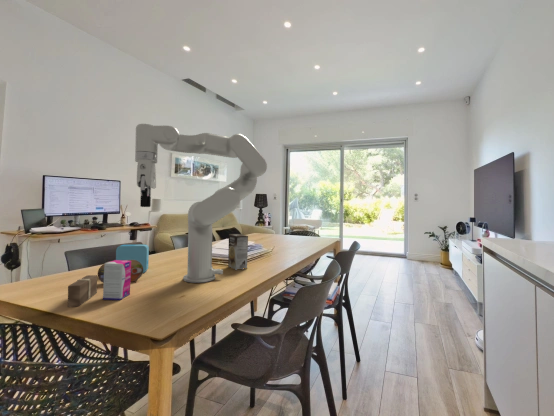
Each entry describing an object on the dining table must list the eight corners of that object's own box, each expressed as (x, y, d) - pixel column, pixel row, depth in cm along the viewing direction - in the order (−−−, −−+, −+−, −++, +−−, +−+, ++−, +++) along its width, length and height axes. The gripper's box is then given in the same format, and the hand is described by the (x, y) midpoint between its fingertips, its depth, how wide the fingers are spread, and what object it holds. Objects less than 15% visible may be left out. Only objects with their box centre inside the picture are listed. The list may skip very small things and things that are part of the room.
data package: (148, 270, 122) (148, 244, 122) (146, 273, 118) (146, 245, 118) (118, 271, 119) (119, 244, 119) (115, 274, 115) (116, 246, 115)
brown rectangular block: (97, 293, 91) (97, 274, 91) (80, 306, 79) (80, 284, 79) (86, 293, 90) (86, 274, 90) (67, 306, 78) (67, 285, 78)
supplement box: (121, 300, 84) (122, 263, 84) (102, 300, 84) (102, 263, 84) (131, 294, 90) (131, 260, 90) (113, 294, 90) (113, 259, 90)
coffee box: (227, 266, 134) (228, 234, 134) (239, 265, 138) (240, 233, 138) (235, 270, 127) (236, 236, 127) (247, 269, 130) (248, 235, 130)
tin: (97, 285, 99) (97, 262, 99) (98, 283, 102) (98, 260, 102) (143, 281, 106) (143, 259, 106) (142, 279, 109) (143, 258, 109)
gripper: (152, 155, 96) (151, 207, 96) (160, 161, 110) (159, 207, 110) (129, 153, 94) (128, 206, 94) (140, 160, 108) (139, 206, 109)
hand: (145, 206), depth 102 cm, fingers closed
